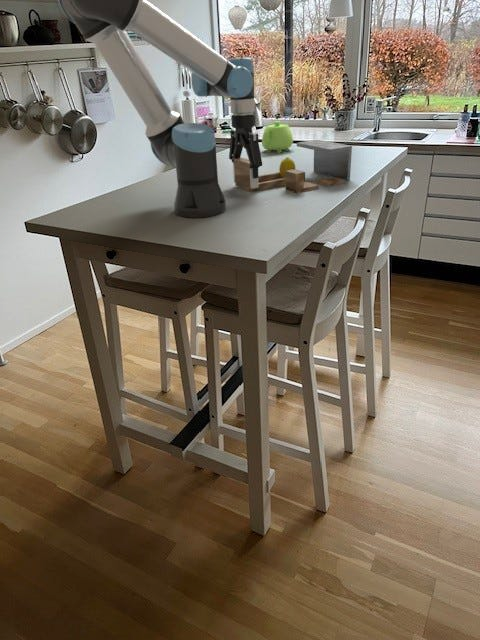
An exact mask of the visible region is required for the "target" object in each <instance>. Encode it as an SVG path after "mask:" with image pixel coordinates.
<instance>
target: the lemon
mask: <svg viewBox="0 0 480 640" xmlns="http://www.w3.org/2000/svg"><path fill="white" fill-rule="evenodd" d="M287 170H296V164H295V161H294V160H293V159H291V158H289V157H286V158H284V159H282V161H280V165H279V172H280V175H281V176H282V178H281V179H283V178H285V171H287Z"/></svg>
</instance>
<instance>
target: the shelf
mask: <svg viewBox="0 0 480 640" xmlns="http://www.w3.org/2000/svg"><path fill="white" fill-rule="evenodd" d="M296 147H298V148H304V149H308V150H313V172H314V173H318V174H322V175H325V176H329V177H336V178H339V179H343V180H345V181H346V182H348V181H350V180H351V170H352V169H351V167H352V166H351V165H352V155H353V154H352V149H353V146H352V145H349V144H344V143H337V142H332V141H327V140H321V139H313V140H312V139H311V140H305V141H300V142H296Z"/></svg>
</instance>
